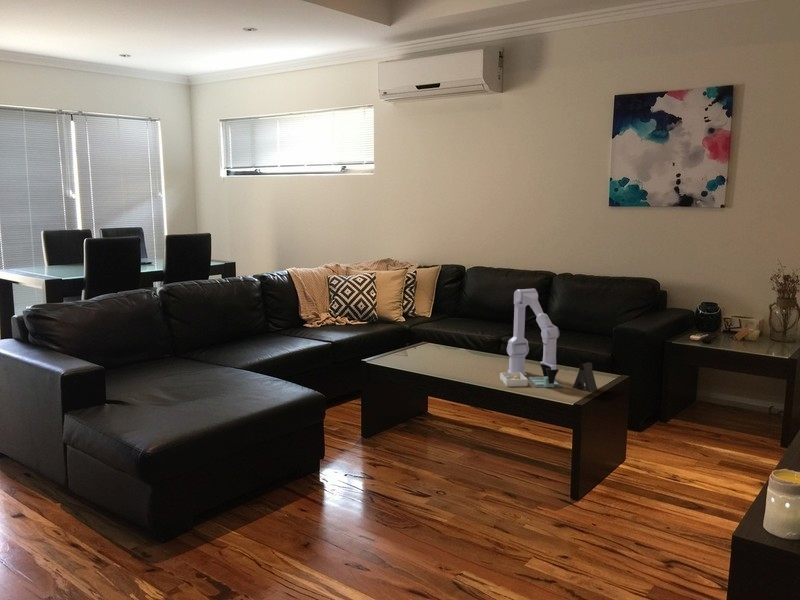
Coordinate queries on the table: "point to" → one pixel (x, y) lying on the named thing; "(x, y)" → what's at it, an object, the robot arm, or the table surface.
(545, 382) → the lid
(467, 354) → the table surface
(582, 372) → the phone stand
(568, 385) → the table surface
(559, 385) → the mat
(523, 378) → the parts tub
